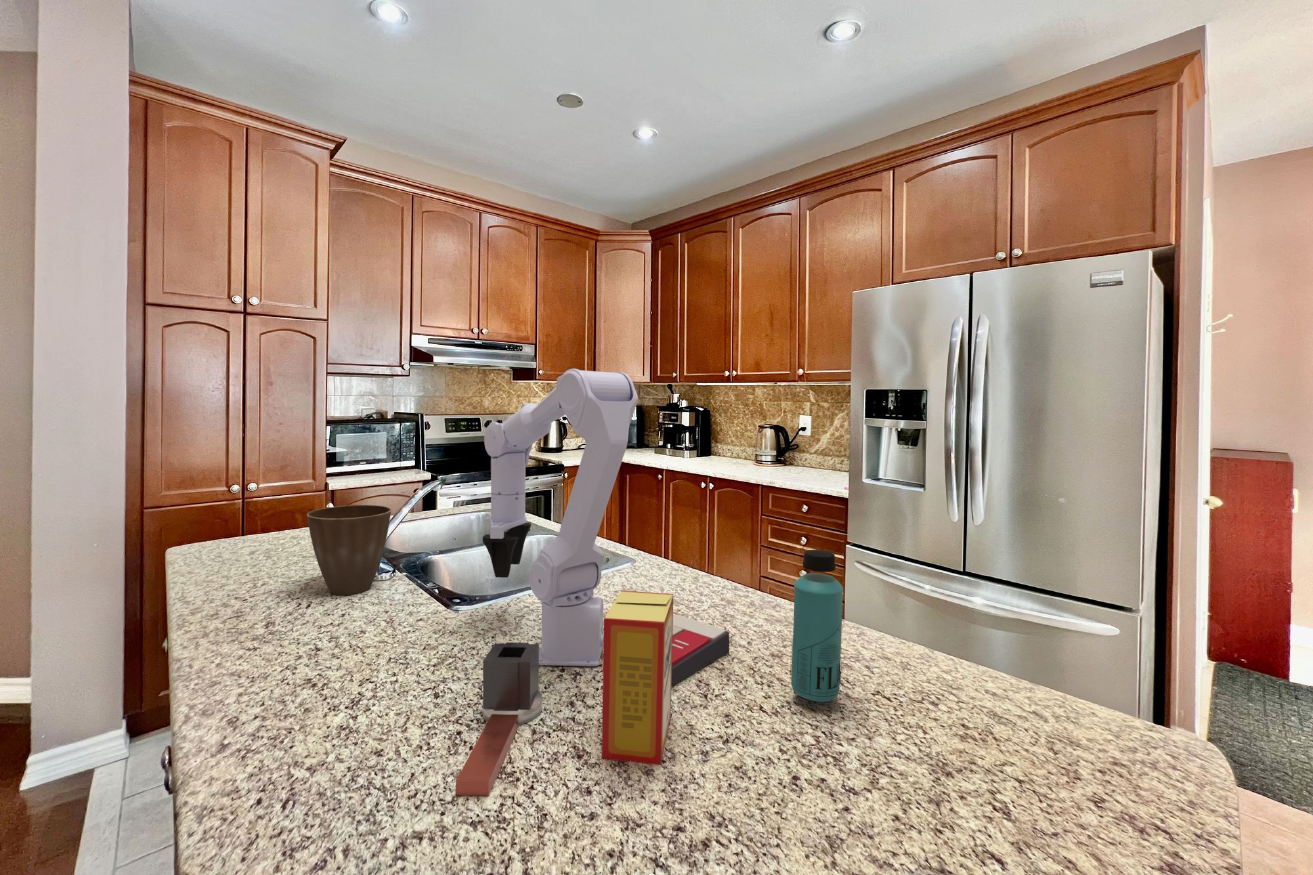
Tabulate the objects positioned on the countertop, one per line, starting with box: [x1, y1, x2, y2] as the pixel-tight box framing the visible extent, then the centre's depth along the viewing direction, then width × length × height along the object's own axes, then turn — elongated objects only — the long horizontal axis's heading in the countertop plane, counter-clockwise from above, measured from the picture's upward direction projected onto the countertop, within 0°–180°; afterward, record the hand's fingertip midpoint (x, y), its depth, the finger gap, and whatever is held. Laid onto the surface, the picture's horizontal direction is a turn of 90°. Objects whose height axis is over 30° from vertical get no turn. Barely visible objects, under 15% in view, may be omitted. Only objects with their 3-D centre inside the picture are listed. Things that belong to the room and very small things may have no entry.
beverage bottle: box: [789, 549, 844, 702], centre depth 75 cm, size 6×7×20 cm
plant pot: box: [306, 504, 392, 596], centre depth 115 cm, size 15×15×16 cm
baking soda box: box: [601, 590, 674, 766], centre depth 66 cm, size 10×6×16 cm
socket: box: [482, 641, 540, 711], centre depth 72 cm, size 6×6×6 cm
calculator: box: [671, 614, 730, 688], centre depth 88 cm, size 11×4×15 cm
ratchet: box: [455, 689, 543, 797], centre depth 66 cm, size 7×19×4 cm, turn 0°
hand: (508, 570), depth 99 cm, fingers open, 7 cm apart
